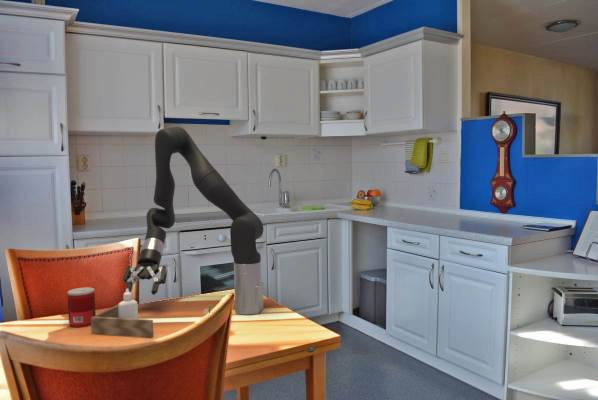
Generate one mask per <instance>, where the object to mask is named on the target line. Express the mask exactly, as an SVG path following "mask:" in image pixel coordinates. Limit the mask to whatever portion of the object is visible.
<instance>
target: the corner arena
mask: <svg viewBox="0 0 598 400" xmlns="http://www.w3.org/2000/svg"><path fill="white" fill-rule="evenodd" d="M90 326H91V327H90V329H91V330H90V331H91V334H92V335H102V336H104V335H105V336H106V335H107V336H121V337H131V338H132V337H134V338H137V337H138V338H148V339H151V338H153V337H154V319H146V318H144V319H142V318H138V319H129V318H119V315H118V304H116V305H114V306H112V307H110V308H108V309H105V310H104V311H102V312H100V313H97V314H96V315H95V316H93V317H91V325H90Z"/></svg>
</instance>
